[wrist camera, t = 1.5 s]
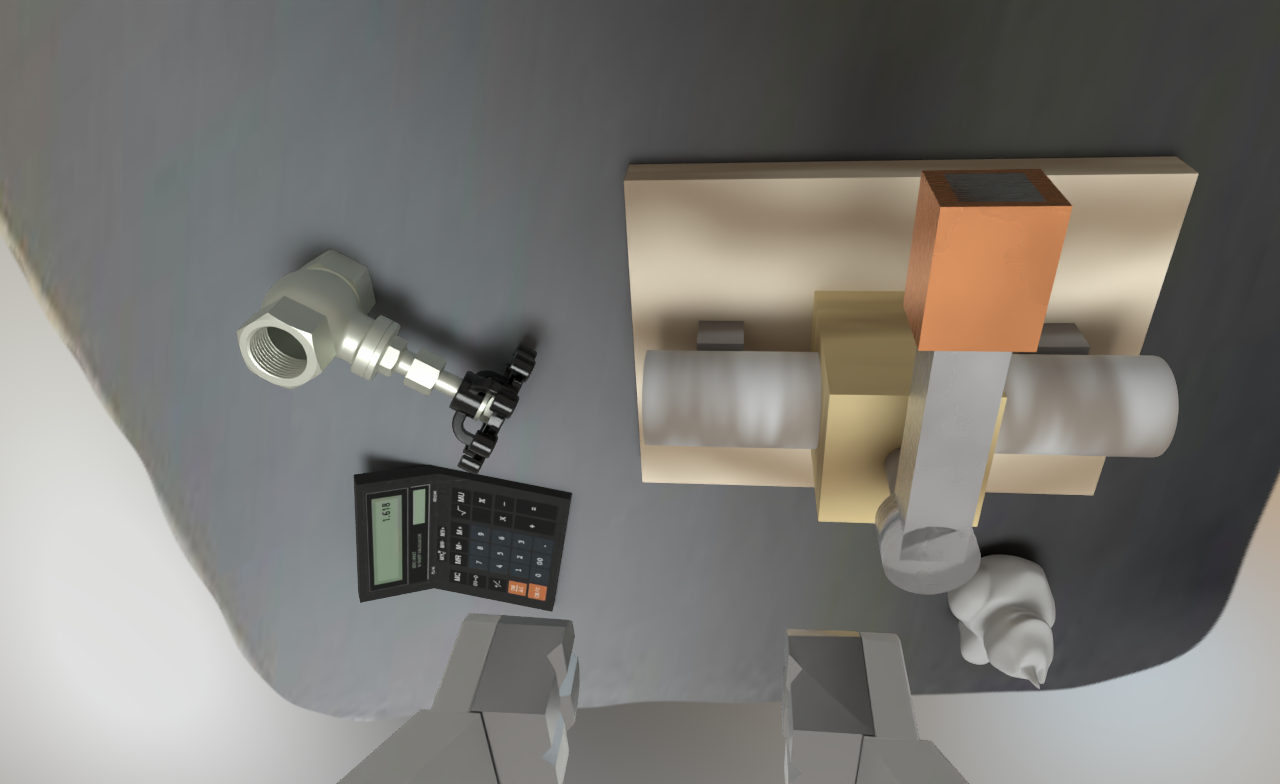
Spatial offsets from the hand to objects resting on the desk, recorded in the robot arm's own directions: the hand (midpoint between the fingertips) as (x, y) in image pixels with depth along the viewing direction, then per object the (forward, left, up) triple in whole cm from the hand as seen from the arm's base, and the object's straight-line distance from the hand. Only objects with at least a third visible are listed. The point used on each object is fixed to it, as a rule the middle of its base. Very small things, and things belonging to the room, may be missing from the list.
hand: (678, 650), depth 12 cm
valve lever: (+5, +7, -14) cm, 17 cm away
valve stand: (+10, +7, -27) cm, 30 cm away
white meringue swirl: (+26, +15, -27) cm, 41 cm away
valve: (+10, -15, -28) cm, 33 cm away
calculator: (+24, -15, -28) cm, 40 cm away
